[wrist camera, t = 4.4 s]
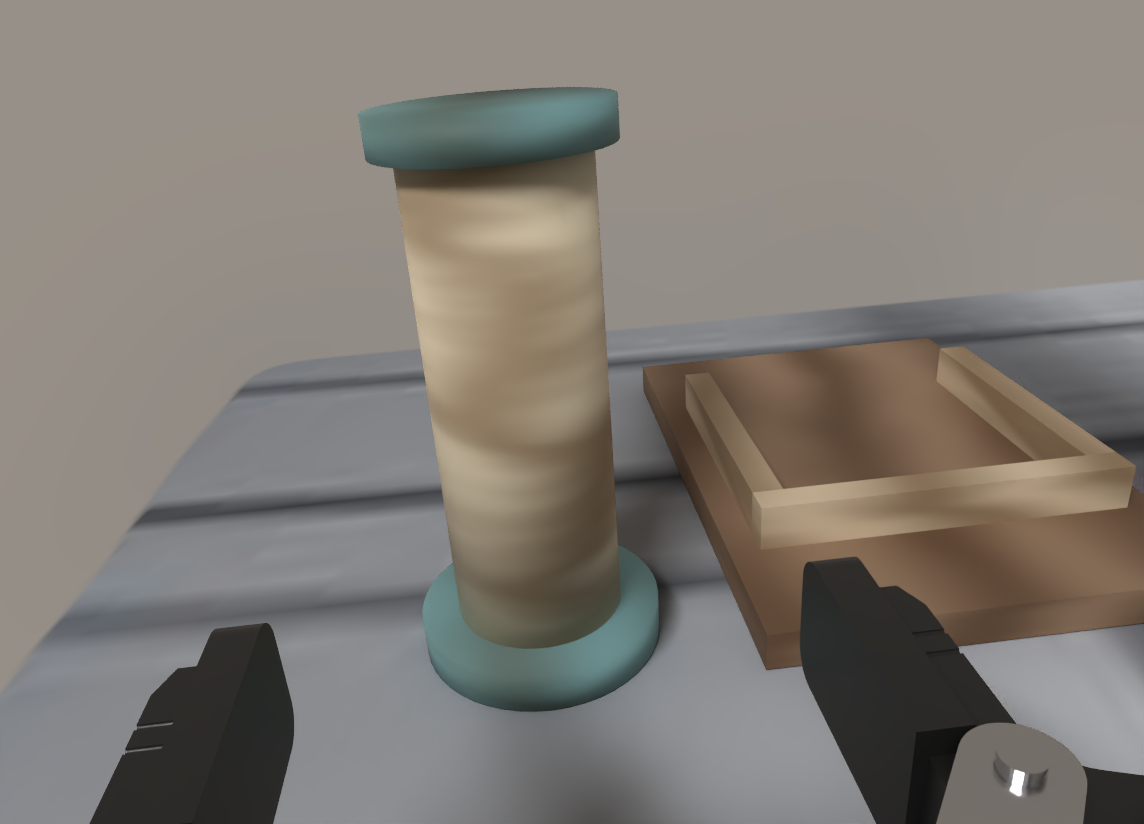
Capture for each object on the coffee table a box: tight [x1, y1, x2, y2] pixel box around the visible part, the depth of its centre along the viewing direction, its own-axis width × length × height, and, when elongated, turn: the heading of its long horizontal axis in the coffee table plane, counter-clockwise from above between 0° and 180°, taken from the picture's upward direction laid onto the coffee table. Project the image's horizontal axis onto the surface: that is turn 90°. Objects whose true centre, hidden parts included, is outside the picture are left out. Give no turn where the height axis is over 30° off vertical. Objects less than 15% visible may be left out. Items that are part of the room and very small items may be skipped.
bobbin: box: [358, 87, 659, 711], centre depth 24 cm, size 7×7×15 cm
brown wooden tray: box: [643, 338, 1144, 670], centre depth 34 cm, size 14×20×3 cm
